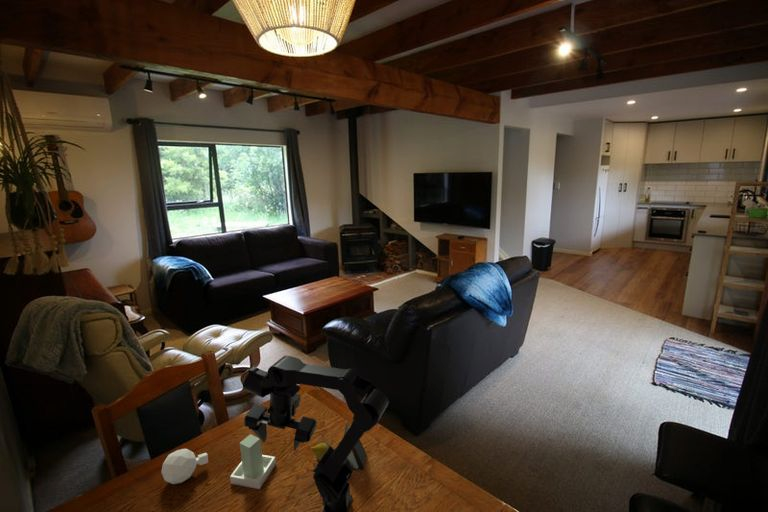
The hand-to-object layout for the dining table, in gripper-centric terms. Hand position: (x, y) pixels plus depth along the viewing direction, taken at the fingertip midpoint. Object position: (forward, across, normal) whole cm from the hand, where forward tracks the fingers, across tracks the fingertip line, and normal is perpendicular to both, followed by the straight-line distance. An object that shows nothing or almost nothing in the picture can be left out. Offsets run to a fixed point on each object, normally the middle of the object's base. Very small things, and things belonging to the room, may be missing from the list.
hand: (280, 445), depth 103 cm
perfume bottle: (+17, +27, +4) cm, 32 cm away
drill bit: (+13, -10, -9) cm, 18 cm away
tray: (+14, +8, 0) cm, 17 cm away
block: (+14, +8, 0) cm, 16 cm away
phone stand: (+11, -19, -10) cm, 24 cm away
